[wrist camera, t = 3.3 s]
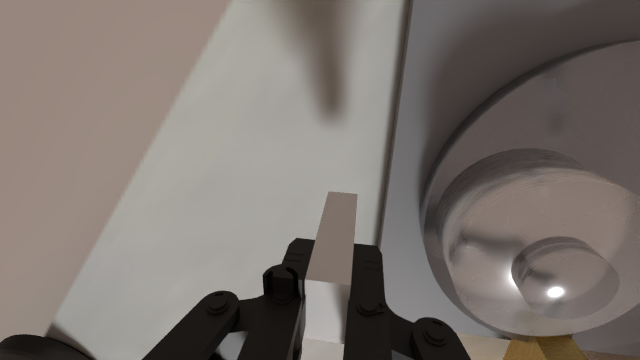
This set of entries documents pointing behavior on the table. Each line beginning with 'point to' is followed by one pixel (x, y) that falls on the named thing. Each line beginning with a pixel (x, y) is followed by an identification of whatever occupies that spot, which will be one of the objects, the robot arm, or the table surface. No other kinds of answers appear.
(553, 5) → the turntable base
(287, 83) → the table surface
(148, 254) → the table surface
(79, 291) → the table surface
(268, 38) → the table surface
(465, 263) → the cover
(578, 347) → the turntable
